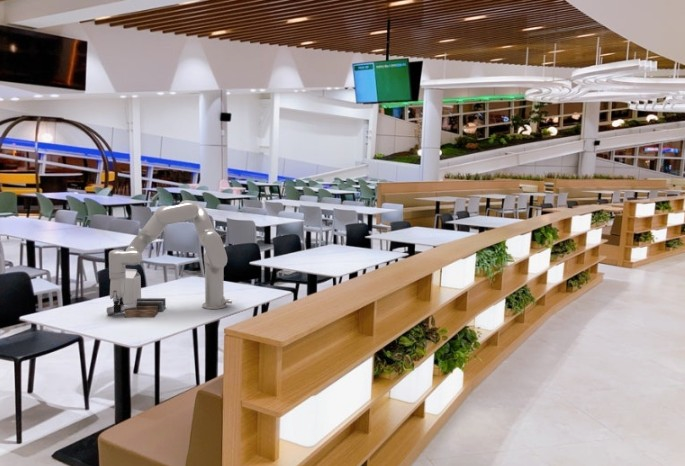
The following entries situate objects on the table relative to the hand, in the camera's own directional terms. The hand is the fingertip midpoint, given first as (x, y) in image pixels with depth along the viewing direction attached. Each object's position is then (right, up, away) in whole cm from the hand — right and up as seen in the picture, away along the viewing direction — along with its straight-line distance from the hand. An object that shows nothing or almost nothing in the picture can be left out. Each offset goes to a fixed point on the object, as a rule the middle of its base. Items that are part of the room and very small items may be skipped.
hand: (118, 310), depth 288 cm
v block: (+12, -1, +12) cm, 17 cm away
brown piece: (+11, -2, +2) cm, 11 cm away
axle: (+2, -1, 0) cm, 2 cm away
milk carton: (-1, +1, +21) cm, 21 cm away
